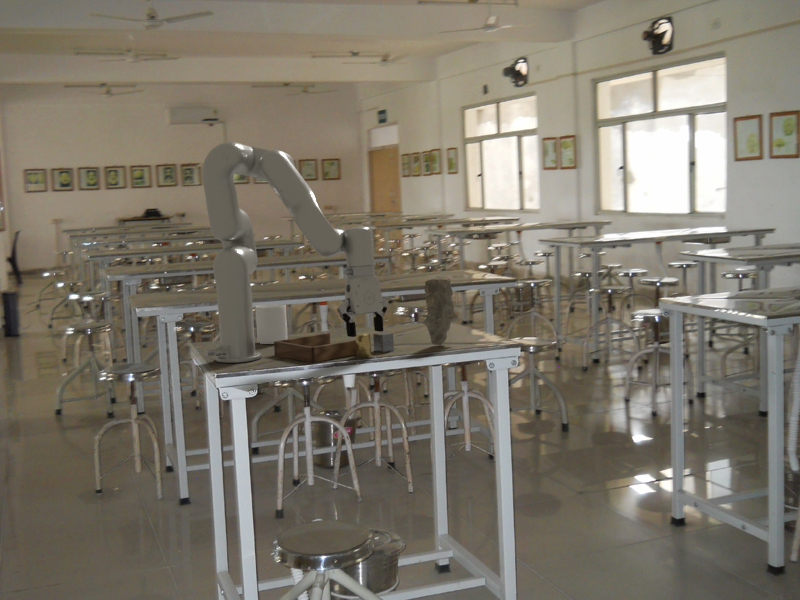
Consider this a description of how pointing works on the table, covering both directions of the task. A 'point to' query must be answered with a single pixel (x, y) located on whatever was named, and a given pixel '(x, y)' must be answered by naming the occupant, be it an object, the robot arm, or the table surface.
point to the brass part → (363, 345)
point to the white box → (271, 323)
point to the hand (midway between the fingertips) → (365, 333)
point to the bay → (314, 348)
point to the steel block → (383, 342)
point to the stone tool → (439, 309)
